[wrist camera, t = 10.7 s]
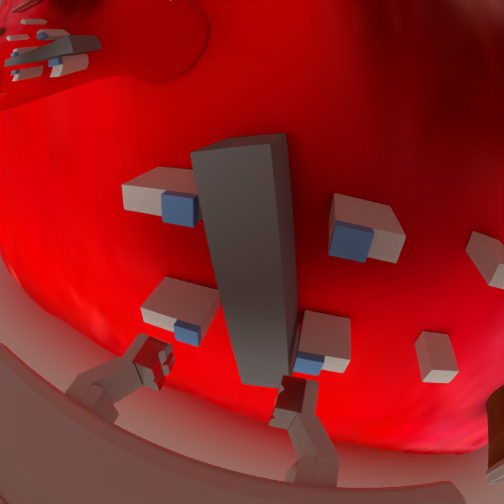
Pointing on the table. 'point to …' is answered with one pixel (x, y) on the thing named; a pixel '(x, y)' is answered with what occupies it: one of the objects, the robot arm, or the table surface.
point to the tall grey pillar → (252, 249)
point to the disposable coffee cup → (496, 436)
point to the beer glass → (93, 43)
